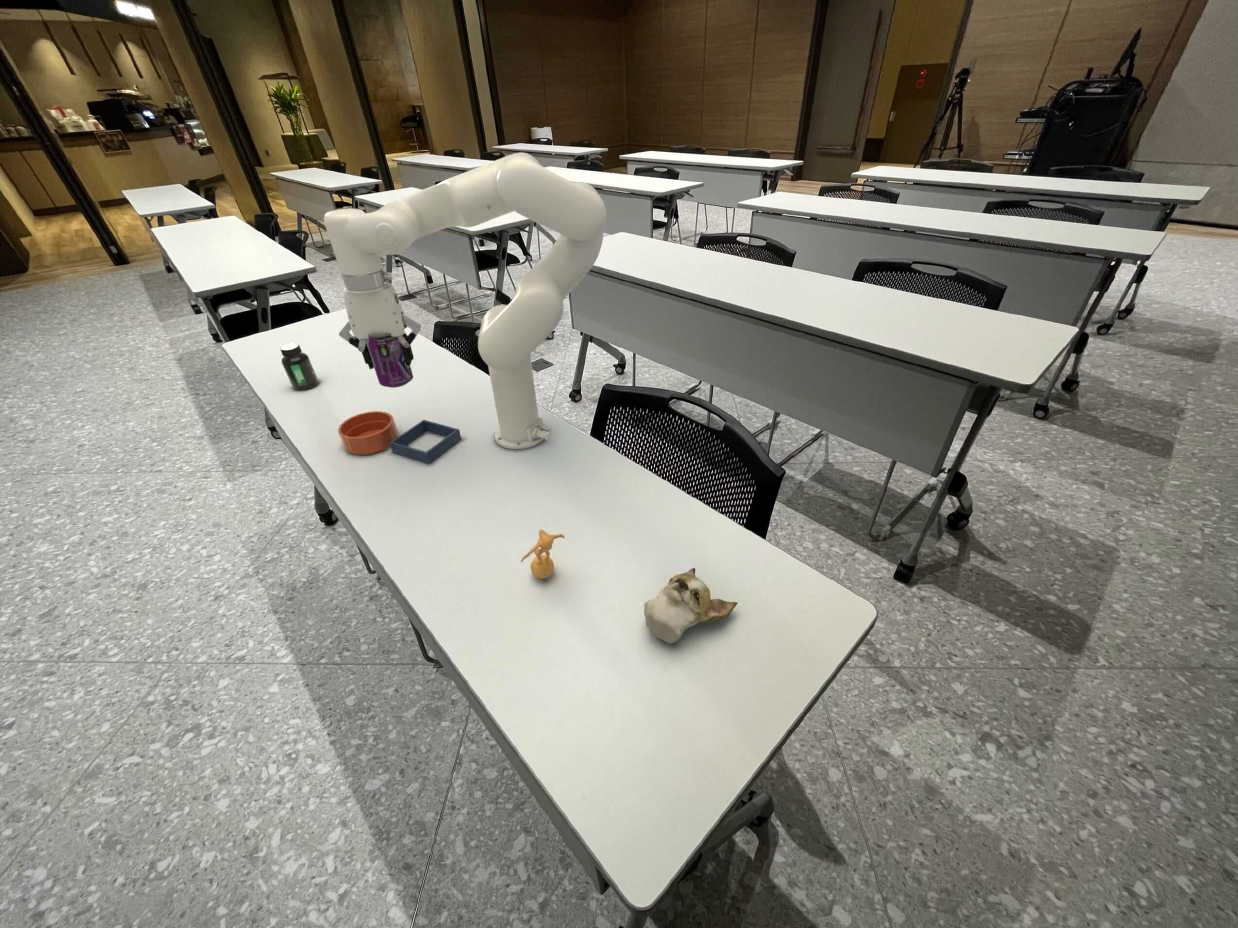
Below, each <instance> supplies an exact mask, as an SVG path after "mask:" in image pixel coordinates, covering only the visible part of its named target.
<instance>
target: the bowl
mask: <svg viewBox="0 0 1238 928" xmlns="http://www.w3.org/2000/svg"><path fill="white" fill-rule="evenodd" d="M337 431H338V435H339V438H340V440H341V443H342V444H343V447H344V449H345V451H347V452H348V453H350V454H353V455H360V456H366V455H367V456H368V455H372V454H376V453H379V452H382V451H384V450H386V449H389V448H391V445H390V442H391V441H393V440H394V439H396V438H397V437H399V436H400V435H399V432H398V429H397V426H396V423H395V420H394V417H393V415H392V414H391V413H389V412H385V411H380V410H379V411H378V410H374V411H366V412H362V413H358V414H355V415H353V416H351V417H349V418H347V419H345V420H344V421H343V422H342V423H340V425H339V426H338V428H337Z"/></svg>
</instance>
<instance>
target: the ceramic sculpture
mask: <svg viewBox="0 0 1238 928" xmlns="http://www.w3.org/2000/svg"><path fill="white" fill-rule="evenodd" d="M738 604H739V602H738V601H726V600H723V599H721V598H711V591H710V588H709V587H708V585H707V584H706V583H705V582H703V581H702V580H701V579H700V578H698V577H697V576H696V568H695V567H692V568H691V569H689V570H688V571H686V572H684V573H680V574H675V575H674V576H673V577H671V578H669V581H668V583H667V584H666V585H665V586H664V587H663V589H661V590H660V591H659V593H658V594H657V595H656V597H654V598H652V599H649V600H647V601H645V602H644V603H643V606H644V609H643V615H644V619H645V624H646V627H648V628H649V629H650V631H651V633H652V635H653V636H654V637H655V638H657V639H659V640H661V641H663V642H664V643H667V644H674V643H676V642H678V641H679V639H680V638H681V637H682V635H683V634H684V632H685V631H686V630H687V629H689V628H691V627H693V626H695V625H697V624H699V623H715V622H716V623H717V622H719V621H722V620H724V619H727V617H728V616H730V614H731V613H732V612H733V611H734V609H735V608H736V606H737V605H738Z"/></svg>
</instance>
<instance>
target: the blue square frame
mask: <svg viewBox="0 0 1238 928" xmlns="http://www.w3.org/2000/svg"><path fill="white" fill-rule="evenodd" d="M427 432H428V433H432V434H435V435H438V436H442V437H444V438H443V439H441V440H440V441H438V442H437V443H436V444H434V445H433V446H432V447H431V448H429V449H428V450H427V451H425V450H421V449H418V448H415V447H411V446H408V445H410V444H411V443H412V442H414V441H416V440H417V439H418V438H419V437H421V436H422V435H424V434H426V433H427ZM460 441H462V435H461V432H460V428H456V427H452V426H449V425H445V424H441V423H438V422H434V421H430V420H427V419H423V420H420V421H419V422H418V423H416V424H415V425H413V426H412V427H410V428H408V429H407V430H406V431H404V432H403V433H401V434H400V435H398V437H397V438H396V439H394V440H393V441H391V442H390V445H391V446H390V448H391V451H392V454H395V455H398V456H401V457H404V458H408V459H411V460H414V461H417V462H420V463H424V464H427V465H430V464H432V463H433V462H435V461H436V460H437V459H439V458H440V457H441V456H443V455H444V454H445V453H446V452H448V451H449V450H450V449H451V448H453V447H454V446H456V444H458V443H459V442H460Z"/></svg>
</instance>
